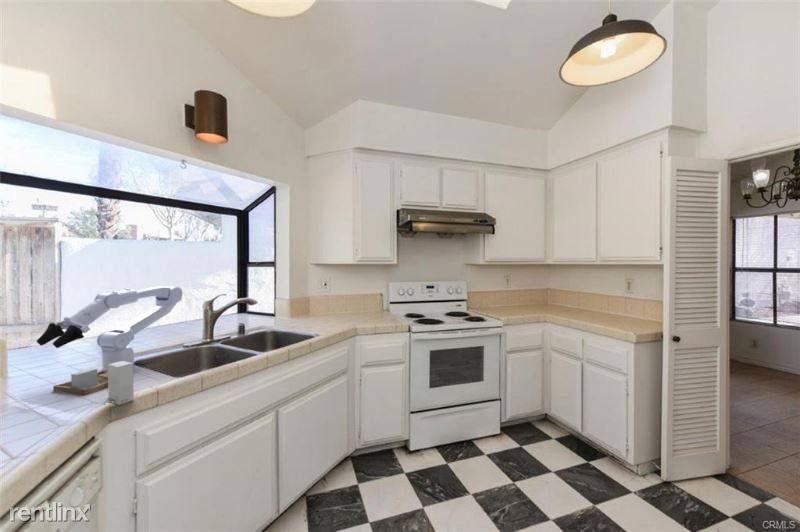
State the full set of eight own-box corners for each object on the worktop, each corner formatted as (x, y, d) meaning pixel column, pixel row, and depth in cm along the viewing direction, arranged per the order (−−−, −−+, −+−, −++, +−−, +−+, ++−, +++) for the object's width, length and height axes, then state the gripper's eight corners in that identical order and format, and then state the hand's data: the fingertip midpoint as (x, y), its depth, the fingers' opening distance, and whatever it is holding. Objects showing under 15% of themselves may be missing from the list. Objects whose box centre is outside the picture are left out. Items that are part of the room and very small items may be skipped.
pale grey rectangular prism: (92, 388, 118) (91, 368, 118) (97, 388, 117) (97, 368, 117) (71, 395, 112) (71, 374, 112) (77, 395, 111) (76, 374, 111)
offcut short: (108, 377, 124) (108, 372, 124) (117, 379, 122) (117, 373, 122) (97, 380, 121) (97, 375, 121) (107, 382, 119) (107, 376, 119)
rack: (103, 378, 127) (103, 370, 126) (132, 382, 123) (132, 374, 123) (53, 395, 112) (53, 386, 112) (84, 399, 109) (84, 390, 108)
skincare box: (134, 400, 108) (133, 362, 108) (118, 405, 105) (117, 367, 104) (123, 396, 111) (122, 360, 110) (107, 401, 107) (106, 364, 107)
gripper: (64, 306, 124) (23, 334, 114) (93, 310, 121) (54, 338, 110) (76, 321, 128) (38, 348, 118) (105, 324, 125) (68, 353, 114)
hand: (46, 344), depth 114 cm, fingers open, 7 cm apart
